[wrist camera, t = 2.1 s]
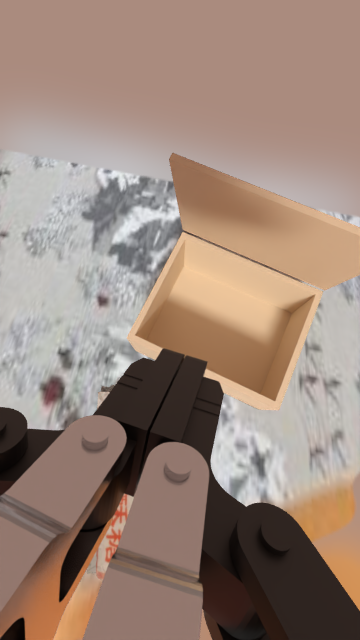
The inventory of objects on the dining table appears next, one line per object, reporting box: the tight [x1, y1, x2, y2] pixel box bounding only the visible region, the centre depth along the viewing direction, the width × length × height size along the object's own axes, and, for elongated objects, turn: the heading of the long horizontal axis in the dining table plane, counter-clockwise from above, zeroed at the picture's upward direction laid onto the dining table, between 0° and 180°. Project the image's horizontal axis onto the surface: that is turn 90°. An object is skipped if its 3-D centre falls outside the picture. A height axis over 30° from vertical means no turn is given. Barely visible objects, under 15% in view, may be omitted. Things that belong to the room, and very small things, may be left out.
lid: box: [169, 153, 360, 290], centre depth 27 cm, size 16×13×1 cm
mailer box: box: [127, 232, 323, 410], centre depth 36 cm, size 16×13×8 cm
